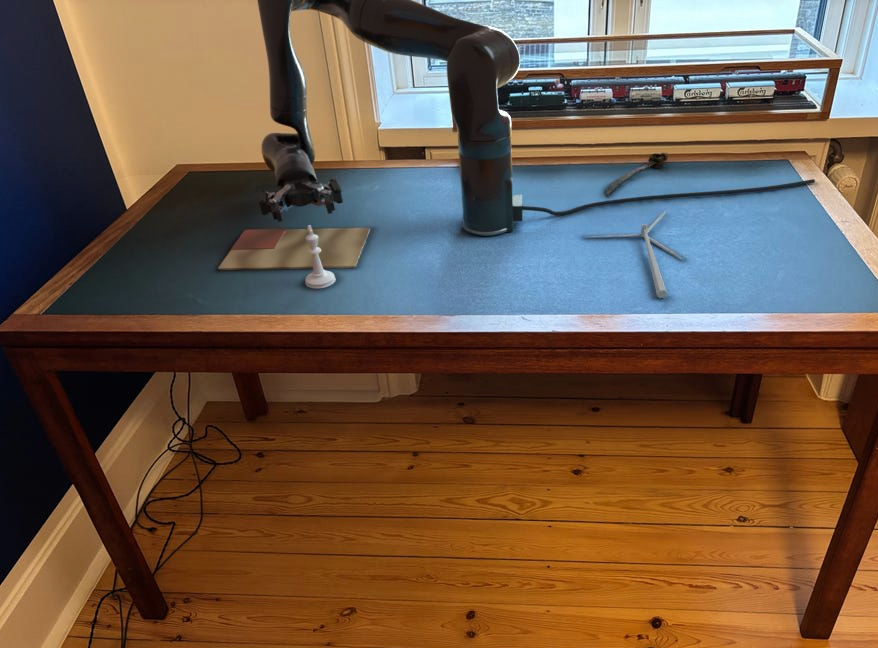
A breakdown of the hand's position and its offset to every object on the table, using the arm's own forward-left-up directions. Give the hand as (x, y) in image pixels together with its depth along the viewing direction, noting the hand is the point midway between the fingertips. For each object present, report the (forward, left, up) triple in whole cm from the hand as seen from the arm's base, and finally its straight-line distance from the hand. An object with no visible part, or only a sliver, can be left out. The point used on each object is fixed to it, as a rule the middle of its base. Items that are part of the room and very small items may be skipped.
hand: (304, 212), depth 123 cm
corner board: (+3, -2, -8) cm, 9 cm away
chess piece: (-4, +10, -8) cm, 13 cm away
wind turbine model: (-56, +2, -8) cm, 56 cm away
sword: (-61, -32, -8) cm, 69 cm away
